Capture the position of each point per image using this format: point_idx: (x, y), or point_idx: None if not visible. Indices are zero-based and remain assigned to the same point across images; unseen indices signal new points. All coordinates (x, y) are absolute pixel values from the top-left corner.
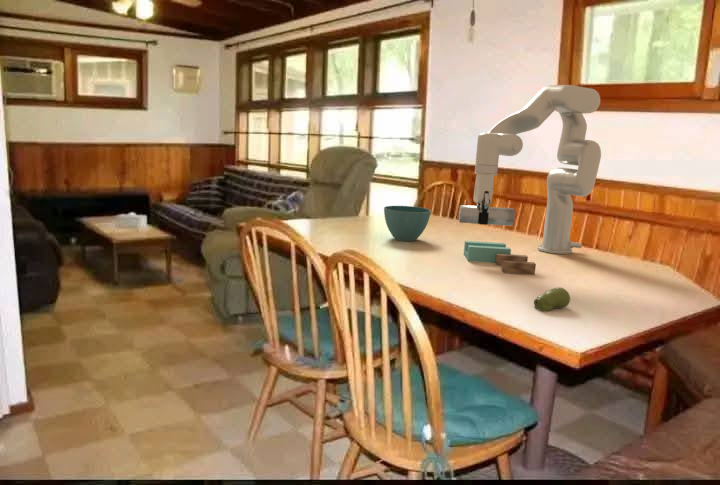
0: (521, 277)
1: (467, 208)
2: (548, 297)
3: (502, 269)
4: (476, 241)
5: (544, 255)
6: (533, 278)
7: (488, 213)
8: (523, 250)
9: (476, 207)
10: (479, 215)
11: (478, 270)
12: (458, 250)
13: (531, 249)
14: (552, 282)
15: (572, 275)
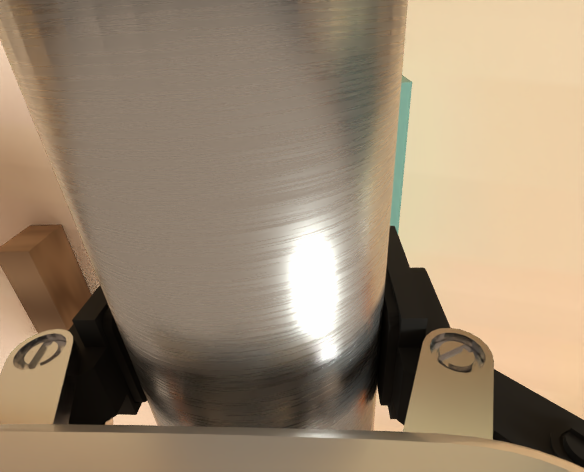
0: (4, 280)
1: (53, 156)
2: None
3: (34, 231)
4: (398, 173)
5: None
6: (19, 314)
7: (121, 406)
8: (540, 376)
9: (148, 344)
10: (99, 295)
11: (3, 119)
12: (526, 39)
13: (564, 405)
14: (5, 354)
15: (144, 419)
